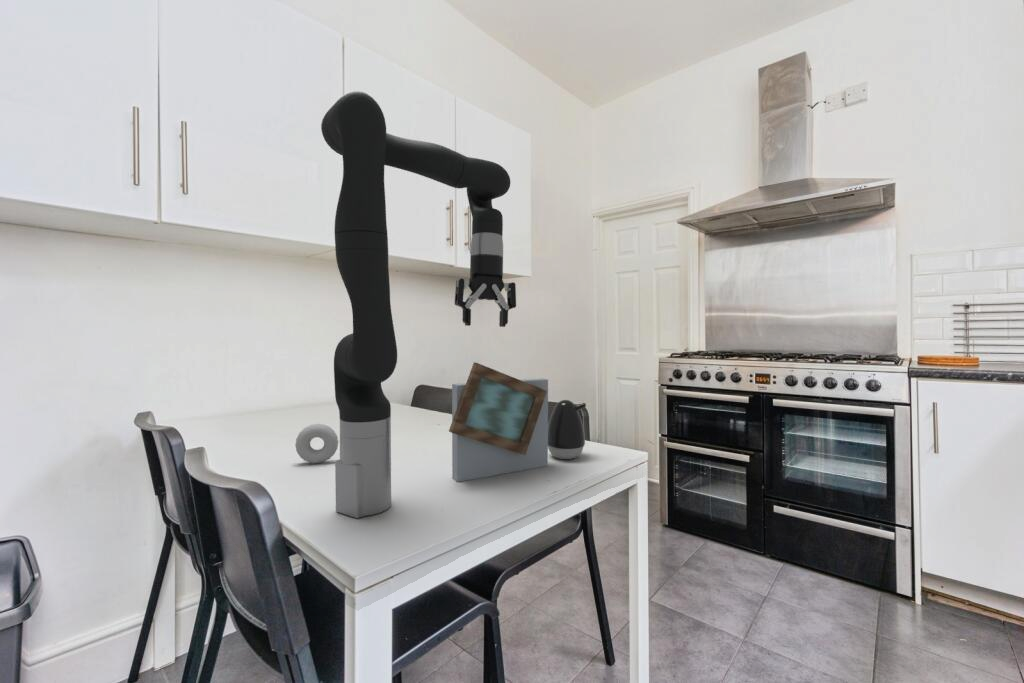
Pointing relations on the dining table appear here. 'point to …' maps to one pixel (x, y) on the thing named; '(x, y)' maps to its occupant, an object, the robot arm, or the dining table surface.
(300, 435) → the donut
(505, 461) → the wall board
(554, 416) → the black electric kettle
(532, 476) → the dining table surface
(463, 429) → the picture frame
